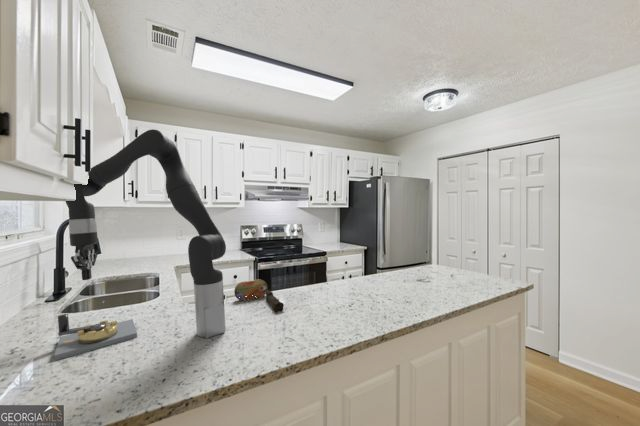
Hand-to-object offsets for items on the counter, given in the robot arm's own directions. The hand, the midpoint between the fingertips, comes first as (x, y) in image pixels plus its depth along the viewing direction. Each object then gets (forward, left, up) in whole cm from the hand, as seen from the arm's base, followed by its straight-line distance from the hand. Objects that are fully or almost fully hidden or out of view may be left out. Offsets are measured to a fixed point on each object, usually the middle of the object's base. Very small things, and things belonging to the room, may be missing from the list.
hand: (87, 279), depth 98 cm
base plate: (-11, -2, -19) cm, 22 cm away
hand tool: (-26, -60, -19) cm, 68 cm away
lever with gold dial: (-12, 0, -17) cm, 21 cm away
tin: (-11, -57, -19) cm, 62 cm away
